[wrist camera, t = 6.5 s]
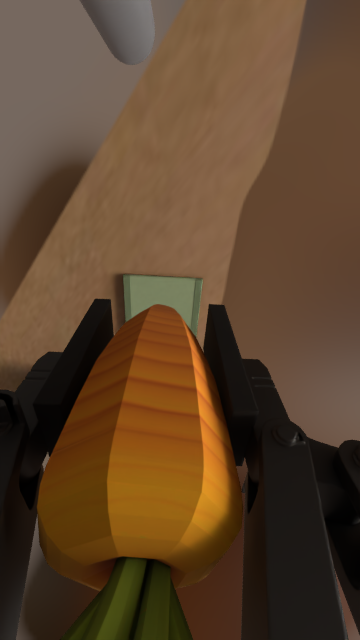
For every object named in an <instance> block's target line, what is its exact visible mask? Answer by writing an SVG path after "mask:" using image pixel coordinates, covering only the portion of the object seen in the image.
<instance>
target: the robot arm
mask: <svg viewBox="0 0 360 640" xmlns="http://www.w3.org/2000/svg"><path fill="white" fill-rule="evenodd" d="M113 337H114V334H113V322H112V310H111V299H95V300H94V301H93V303H92V305H91V306H90V308H89V310H88V311H87V313H86V315H85V316H84V318H83V320H82V321H81V323H80V325H79V326H78V328H77V330H76V331H75V333H74V335H73V337H72V338H71V340H70V342H69V343H68V345H67V347H66V348H65V350H64V352H48V353H46V354H45V355H44V356H42V357H41V358H40V359H38V360H37V362H36V363H35V364H34V366H33V367H32V369H31V371H30V372H29V373H28V374H27V376H26V377H25V380H23V381H22V383H21V384H20V386H19V387H18V389H17V390H16V391H15V393H14V392H12V391H9V390H0V640H16V635H17V629H18V623H19V617H20V611H21V606H22V600H23V594H24V588H25V582H26V577H27V571H28V565H29V559H30V553H31V547H32V542H33V536H34V530H35V524H36V518H37V504H38V496H39V489H40V483H41V480H42V477H43V474H44V469H43V466H42V463H43V461H44V459H45V457H46V454H47V452H48V454H49V457H50V456H51V454H52V452H53V450H54V448H55V445H56V443H57V441H58V439H59V437H60V434H61V432H62V430H63V428H64V426H65V424H66V421H67V419H68V417H69V415H70V413H71V410H72V408H73V406H74V404H75V402H76V400H77V398H78V396H79V394H80V392H81V390H82V388H83V386H84V384H85V382H86V380H87V378H88V376H89V374H90V372H91V370H92V368H93V366H94V364H95V362H96V360H97V359H98V357H99V356H100V355H101V353H102V352H103V350H104V349H105V348H106V346H107V345H108V343H109V342H110V341H111V339H112V338H113ZM203 349H204V355H205V357H206V359H207V362H208V364H209V367H210V369H211V371H212V374H213V376H214V378H215V381H216V385H217V388H218V392H219V396H220V400H221V404H222V408H223V412H224V416H225V419H226V423H227V428H228V432H229V437H230V441H231V446H232V450H233V455H234V459H235V464H236V466H242V464H243V461H244V458H245V459H246V464H247V468H248V472H247V475H246V478H245V481H244V484H243V487H242V491H241V492H242V493H245V515H244V516H245V517H244V552H243V553H244V554H243V589H242V626H241V640H348V635H347V630H346V625H345V620H344V615H343V610H342V605H341V600H340V595H339V590H338V585H337V580H336V575H335V571H336V574H337V577H338V579H339V582H340V585H341V587H342V590H343V592H344V595H345V598H346V600H347V603H348V605H349V608H350V611H351V613H352V616H353V619H354V621H355V624H356V626H357V629H358V632H359V634H360V441H357V440H347V441H344V442H343V443H342V444H341V445H340V447H339V448H337V447H334V446H330V445H328V444H324V443H321V442H318V441H315V440H313V439H310V438H308V437H307V436H306V434H305V433H304V432H303V431H302V429H301V428H300V427H299V426H297V425H296V424H294V423H293V422H291V421H290V419H289V417H288V415H287V413H286V410H285V408H284V406H283V403H282V401H281V399H280V396H279V394H278V392H277V390H276V388H275V385H274V383H273V381H272V380H271V376H270V373H269V371H268V369H267V368H266V367H265V366H264V364H262V362H260V360H258V359H242V358H241V355H240V352H239V349H238V346H237V343H236V340H235V337H234V334H233V331H232V328H231V324H230V321H229V319H228V315H227V312H226V309H225V306H224V305H214V304H209V309H208V316H207V324H206V332H205V339H204V347H203ZM334 569H335V570H334Z"/></svg>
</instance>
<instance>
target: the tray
mask: <svg viewBox="0 0 360 640" xmlns="http://www.w3.org/2000/svg"><path fill="white" fill-rule="evenodd" d="M202 281H203V279H202V278H186V277H168V276H149V275H130V274H124V275H123V284H124V304H125V323H126V322H127V321H129V320H130V319H131V318H133V317H134V316H136V315H137V314H139V313H140V312H142V311H144V310H146V309H147V308H149V307H151V306H153V305H154V304H162V305H166V306H169V307H172V308H174V309H175V310H176V311H177V312H178V313H179V314H180V315H181V317H182V318H183V320H184V321H185V323H186V324H187V325H188V327H189V328H190V330H191V331H192V332H193V334H194V335H195V337H196V335H197V326H198V317H199V308H200V299H201V290H202Z"/></svg>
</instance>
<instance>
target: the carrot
mask: <svg viewBox="0 0 360 640" xmlns="http://www.w3.org/2000/svg"><path fill="white" fill-rule="evenodd" d="M242 512H243V504H242V493H241V486H240V482H239V477H238V473H237V468H236V464H235V459H234V455H233V450H232V446H231V441H230V437H229V432H228V428H227V423H226V419H225V416H224V412H223V408H222V404H221V400H220V396H219V392H218V388H217V385H216V381H215V378H214V376H213V374H212V371H211V369H210V367H209V364H208V362H207V359H206V357H205V355H204V353H203V351H202V349H201V347H200V345H199V343H198V341H197V339H196V337H195V335H194V334H193V332H192V331H191V330H190V328H189V327H188V325H187V324H186V323H185V321H184V320H183V318H182V317H181V315H180V314H179V313H178V312H177V311H176V310H175V309H174V308H172V307H169V306H166V305H162V304H154V305H153V306H151V307H149V308H147V309H146V310H144V311H142V312H140V313H139V314H137V315H136V316H134V317H133V318H131V319H130V320H129V321H127V322H126V323H125V324H124V325H123V326H122V327H121V328H120V330H119V331H118V332H117V333H116V334H115V336H114V337H113V338H112V339H111V341H110V342H109V343H108V345H107V346H106V348H105V349H104V350H103V352H102V353H101V355H100V356H99V357H98V359H97V360H96V362H95V364H94V366H93V368H92V370H91V372H90V374H89V376H88V378H87V380H86V382H85V384H84V386H83V388H82V390H81V392H80V394H79V396H78V398H77V400H76V402H75V404H74V406H73V408H72V410H71V413H70V415H69V417H68V419H67V421H66V424H65V426H64V428H63V430H62V432H61V434H60V437H59V439H58V441H57V443H56V445H55V448H54V450H53V452H52V454H51V456H50V458H49V461H48V463H47V465H46V468H45V471H44V474H43V477H42V480H41V483H40V489H39V496H38V504H37V514H38V528H39V542H40V547H41V549H42V551H43V554H44V556H45V559H46V561H47V564H49V565H50V566H51V567H52V568H53V569H54V570H56V571H57V572H58V573H59V574H60V575H63V576H65V577H67V578H70V579H72V580H74V581H77V582H79V583H82V584H84V585H87V586H89V587H91V588H93V589H96V590H98V591H100V592H99V593H98V595H97V596H96V597H95V598H94V599H93V601H92V602H91V603H90V604H89V605H88V607H87V608H86V609H85V610H84V611H83V613H82V614H81V615H80V616H79V617H78V619H77V620H76V621H75V622H74V623H73V624H72V626H71V627H70V628H69V629H68V630H67V632H66V633H65V634H64V635H63V636H62V638H61V639H60V640H193V638H192V635H191V632H190V630H189V627H188V624H187V621H186V618H185V616H184V613H183V610H182V608H181V604H180V602H179V599H178V596H177V594H176V590H175V588H180V587H184V586H188V585H193V584H196V583H198V582H199V581H201V580H202V579H203V578H205V577H206V576H207V575H208V574H209V573H210V572H211V571H212V569H213V568H214V567H215V566H216V564H217V563H218V562H219V560H220V559H221V558H222V557H223V555H224V554H225V553H226V552H227V550H228V549H229V547H230V546H231V544H232V543H233V541H234V539H235V537H236V536H237V534H238V533H239V531H240V529H241V527H242Z"/></svg>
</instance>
